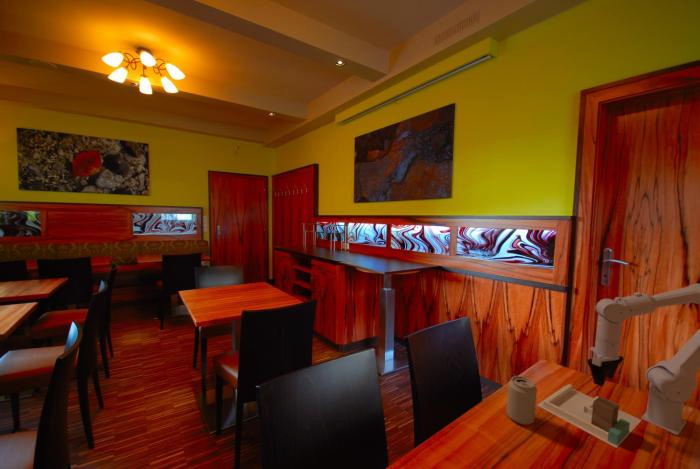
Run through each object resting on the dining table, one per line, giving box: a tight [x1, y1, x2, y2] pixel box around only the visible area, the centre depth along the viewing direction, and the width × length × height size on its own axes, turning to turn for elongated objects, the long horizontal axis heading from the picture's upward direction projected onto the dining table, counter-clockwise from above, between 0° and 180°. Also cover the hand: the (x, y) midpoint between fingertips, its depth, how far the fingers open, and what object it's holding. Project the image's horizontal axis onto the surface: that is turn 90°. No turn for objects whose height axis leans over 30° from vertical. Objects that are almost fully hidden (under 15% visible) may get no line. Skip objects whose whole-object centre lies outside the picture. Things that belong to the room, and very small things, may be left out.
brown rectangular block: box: [591, 395, 620, 432], centre depth 90 cm, size 4×4×8 cm
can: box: [506, 375, 538, 426], centre depth 94 cm, size 8×8×12 cm
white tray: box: [536, 383, 642, 449], centre depth 97 cm, size 20×20×4 cm
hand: (603, 380), depth 97 cm, fingers open, 7 cm apart
